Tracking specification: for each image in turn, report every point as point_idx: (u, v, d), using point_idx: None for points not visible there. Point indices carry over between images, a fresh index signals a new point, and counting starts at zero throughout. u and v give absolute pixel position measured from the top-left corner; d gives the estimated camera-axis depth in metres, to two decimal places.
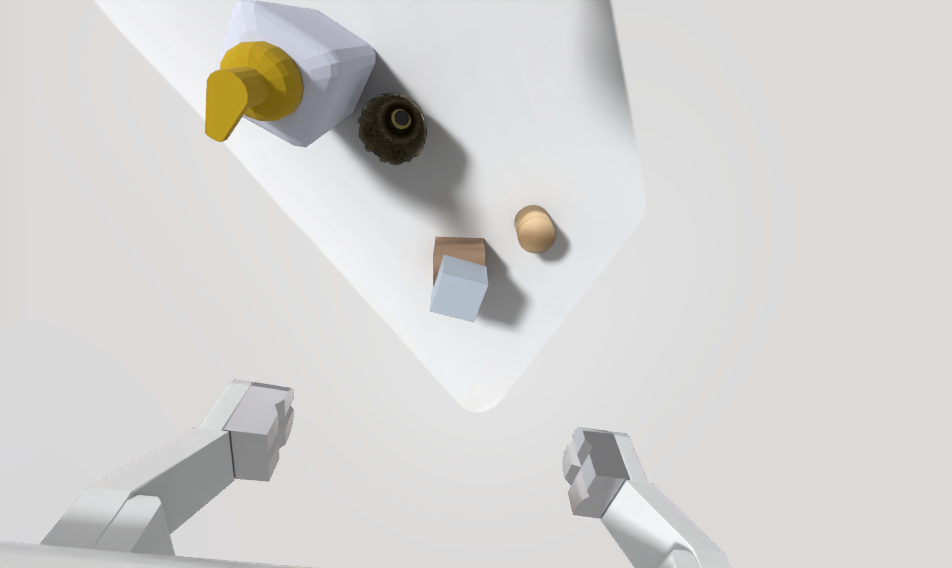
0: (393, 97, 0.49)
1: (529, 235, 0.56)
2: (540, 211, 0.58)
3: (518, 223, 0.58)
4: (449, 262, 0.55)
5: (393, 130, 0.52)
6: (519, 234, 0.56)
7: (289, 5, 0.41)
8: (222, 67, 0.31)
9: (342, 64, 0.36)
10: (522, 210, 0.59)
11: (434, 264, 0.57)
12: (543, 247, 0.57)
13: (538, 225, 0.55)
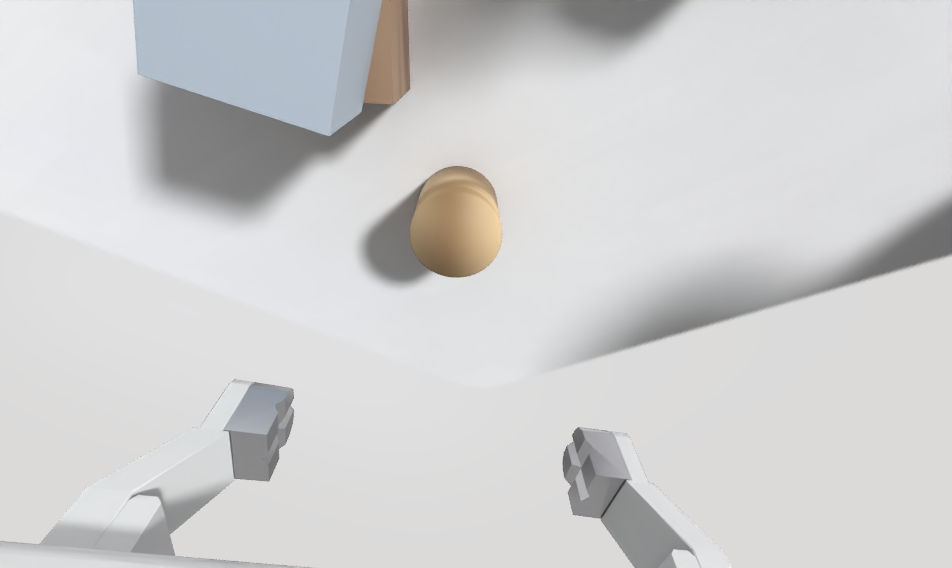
0: None
1: (457, 220, 0.22)
2: None
3: (473, 183, 0.24)
4: None
5: None
6: (460, 195, 0.22)
7: None
8: None
9: None
10: (489, 184, 0.26)
11: None
12: (426, 254, 0.23)
13: (484, 238, 0.23)
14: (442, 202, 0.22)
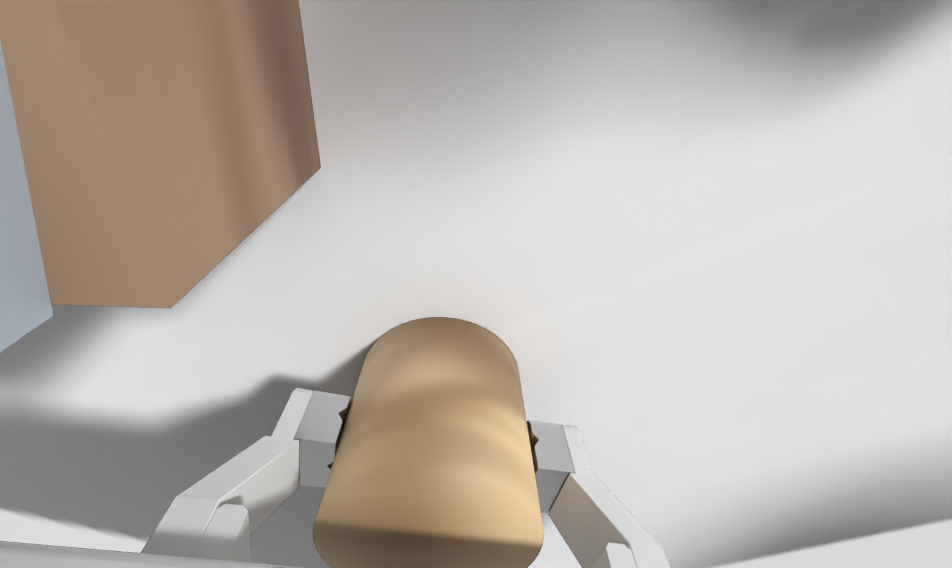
0: None
1: (431, 516, 0.09)
2: None
3: (471, 394, 0.10)
4: None
5: None
6: (437, 474, 0.08)
7: None
8: None
9: None
10: (505, 354, 0.12)
11: None
12: (360, 567, 0.10)
13: (501, 543, 0.09)
14: (390, 488, 0.08)
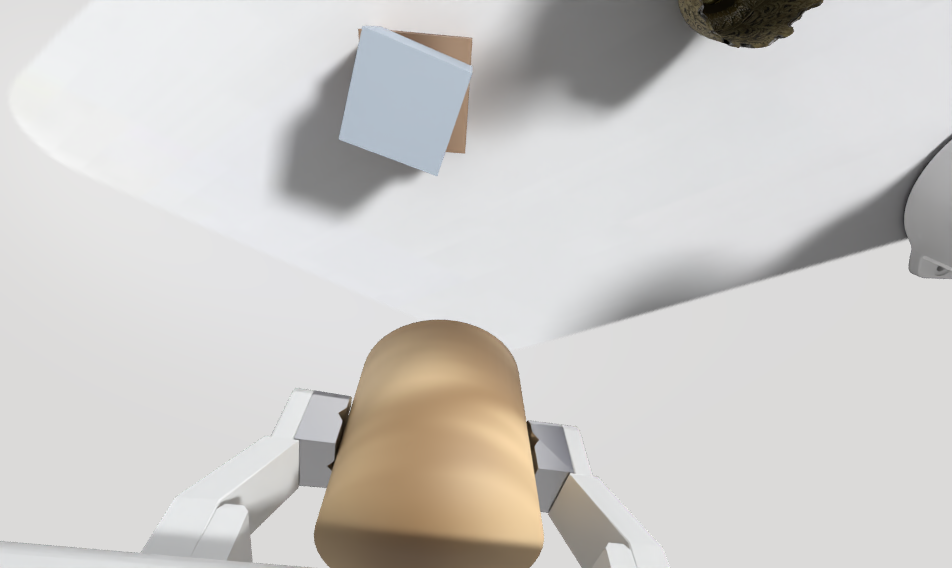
0: None
1: (432, 519, 0.09)
2: None
3: (472, 396, 0.10)
4: None
5: None
6: (438, 476, 0.08)
7: None
8: None
9: None
10: (505, 357, 0.12)
11: (450, 40, 0.26)
12: None
13: (501, 545, 0.09)
14: (391, 490, 0.08)
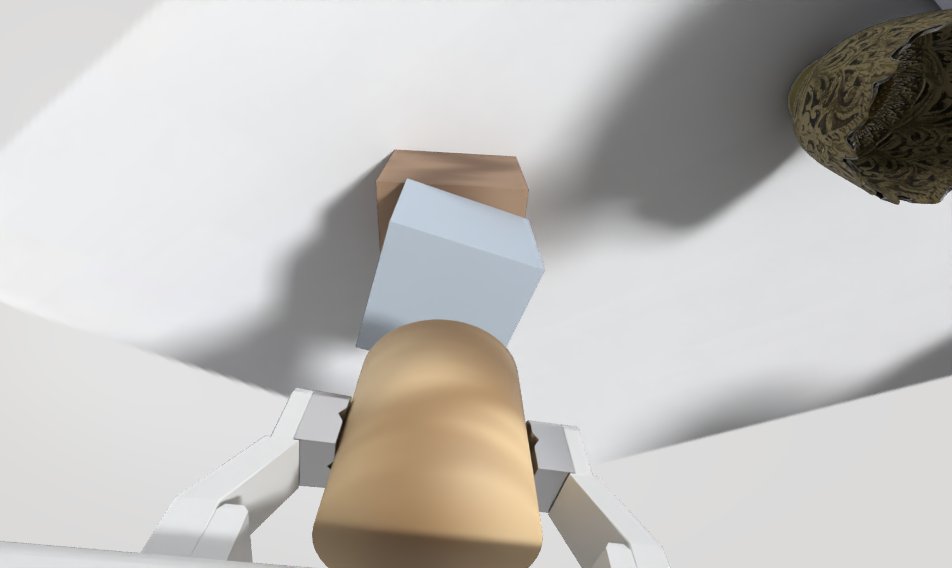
0: (917, 88, 0.20)
1: (430, 518, 0.09)
2: None
3: (470, 396, 0.10)
4: None
5: None
6: (436, 476, 0.08)
7: None
8: None
9: None
10: (504, 356, 0.12)
11: (499, 191, 0.19)
12: None
13: (500, 545, 0.09)
14: (389, 490, 0.08)
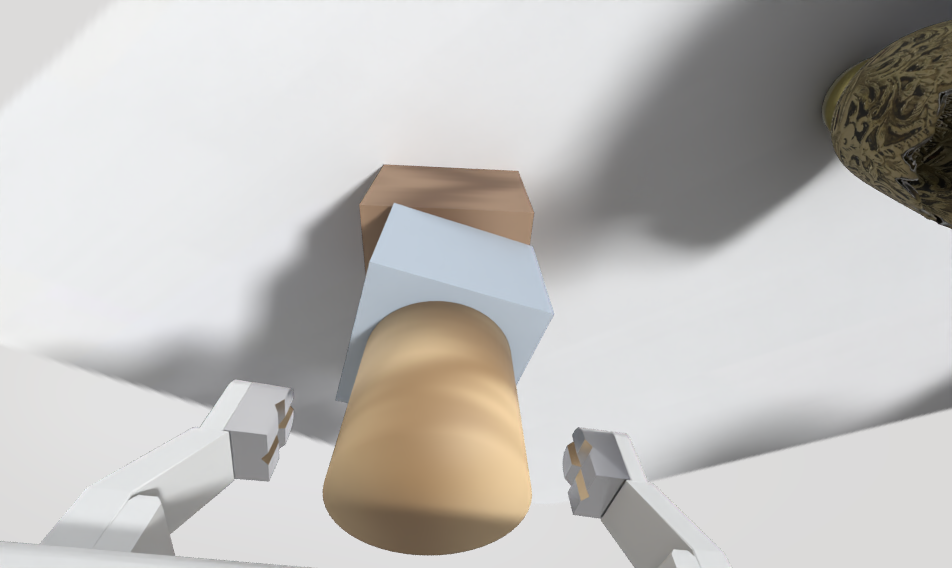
0: None
1: (429, 475, 0.10)
2: None
3: (465, 368, 0.11)
4: None
5: None
6: (434, 435, 0.09)
7: None
8: None
9: None
10: (497, 335, 0.13)
11: (500, 214, 0.17)
12: (366, 526, 0.11)
13: (493, 501, 0.10)
14: (392, 448, 0.09)
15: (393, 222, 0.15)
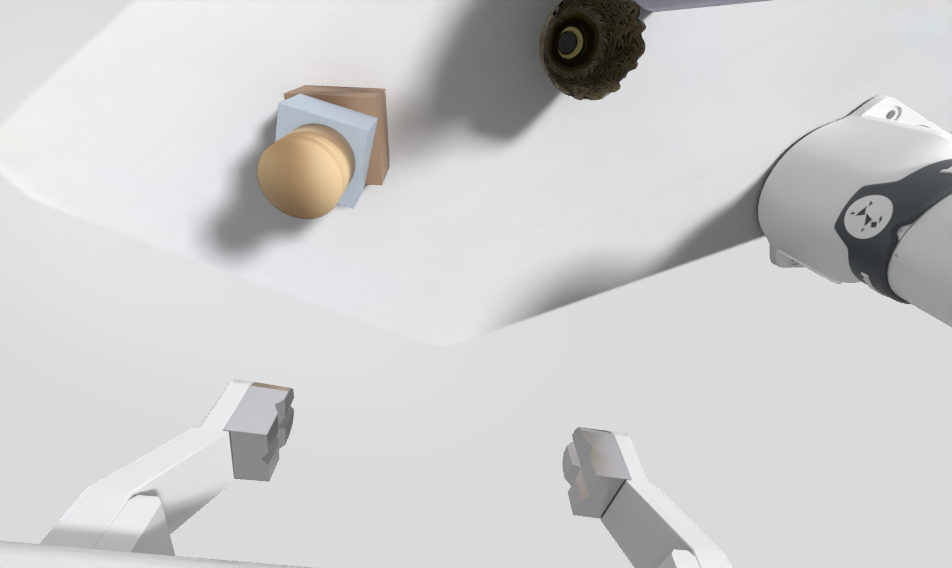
0: (609, 38, 0.35)
1: (296, 164, 0.26)
2: (349, 176, 0.29)
3: (315, 133, 0.27)
4: (372, 132, 0.33)
5: (560, 30, 0.35)
6: (294, 141, 0.25)
7: None
8: None
9: None
10: (340, 137, 0.29)
11: (358, 98, 0.33)
12: (278, 198, 0.27)
13: (326, 179, 0.26)
14: (279, 148, 0.25)
15: (296, 97, 0.31)
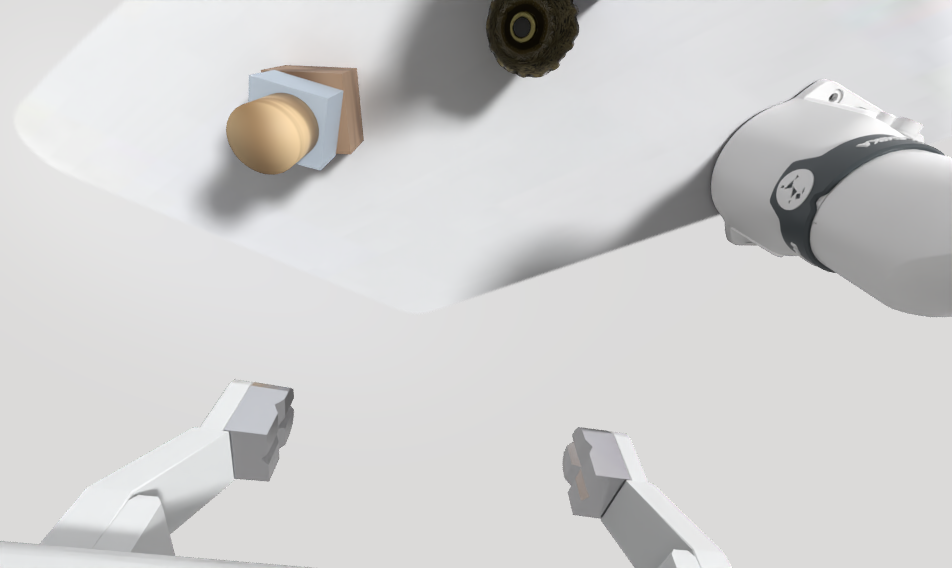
0: (555, 22, 0.38)
1: (259, 125, 0.30)
2: (311, 137, 0.33)
3: (276, 99, 0.31)
4: (337, 103, 0.37)
5: (512, 15, 0.39)
6: (254, 104, 0.29)
7: None
8: None
9: None
10: (302, 103, 0.33)
11: (326, 74, 0.37)
12: (246, 156, 0.31)
13: (284, 138, 0.30)
14: (243, 111, 0.29)
15: (268, 72, 0.35)
